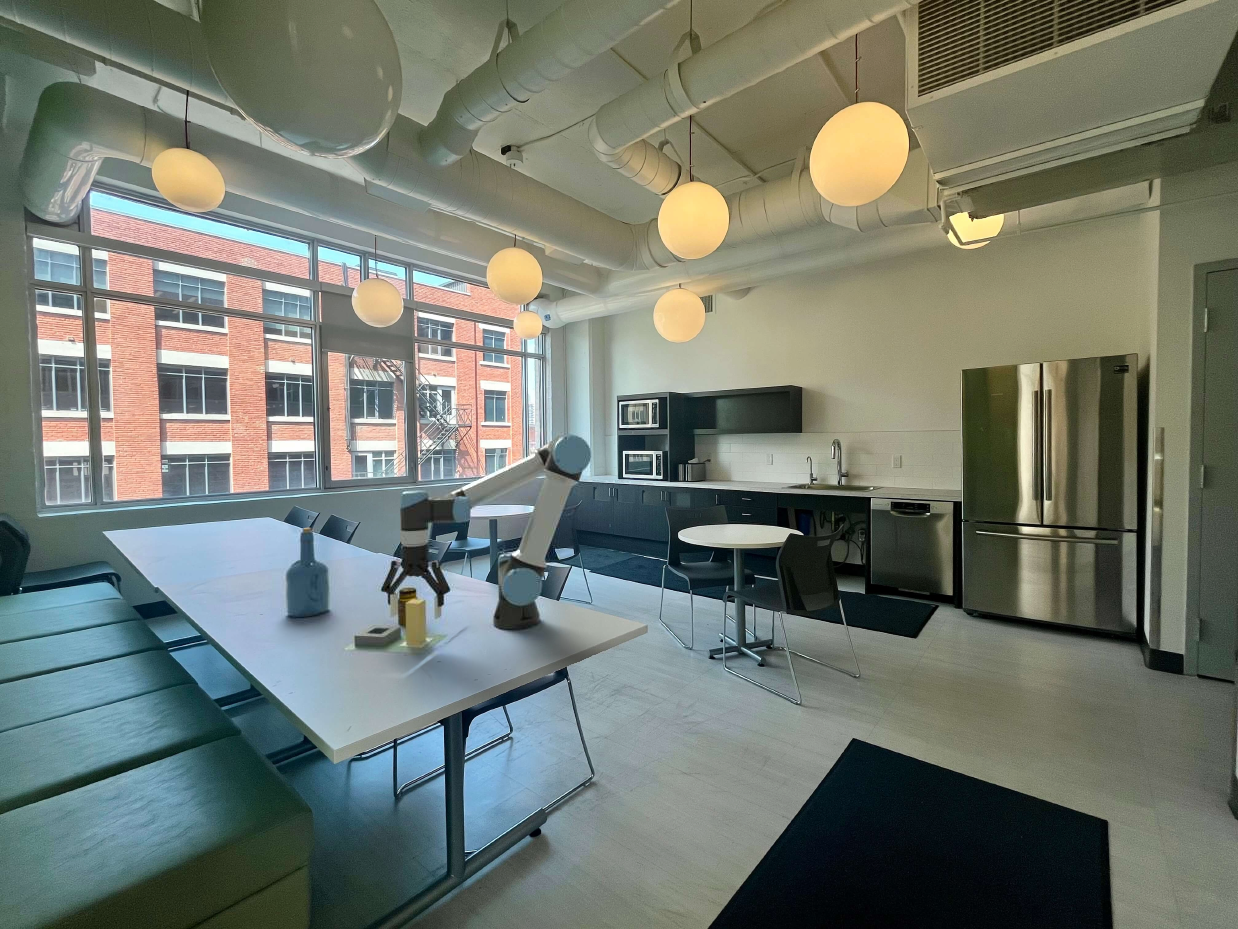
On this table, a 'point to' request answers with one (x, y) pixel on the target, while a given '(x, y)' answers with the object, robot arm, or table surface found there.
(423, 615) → the plug
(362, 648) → the green board with socket
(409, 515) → the robot arm
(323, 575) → the wine bottle
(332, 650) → the table surface
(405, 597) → the condiment
